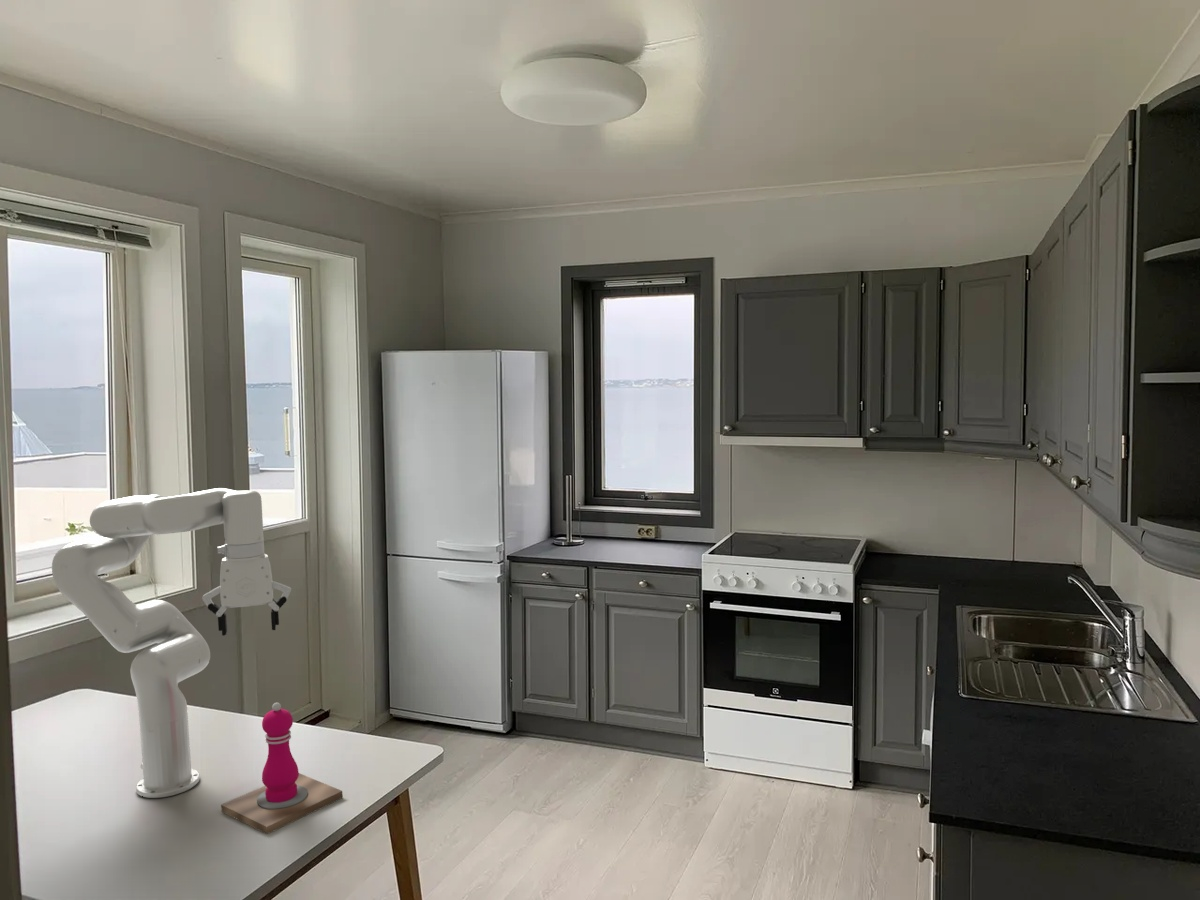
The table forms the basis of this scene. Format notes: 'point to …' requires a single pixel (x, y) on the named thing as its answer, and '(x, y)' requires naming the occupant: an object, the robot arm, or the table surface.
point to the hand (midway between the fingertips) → (249, 631)
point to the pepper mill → (279, 756)
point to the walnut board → (281, 805)
